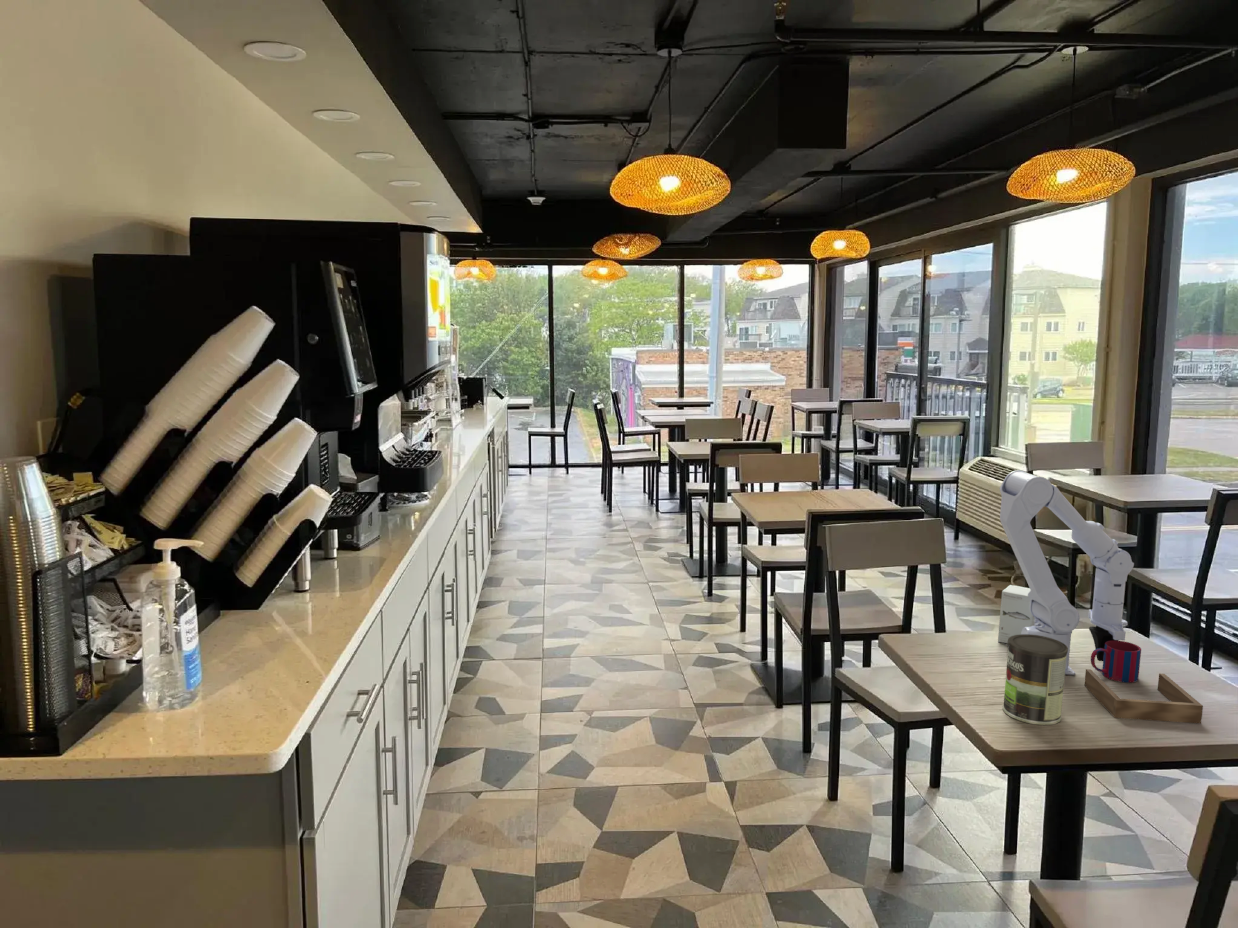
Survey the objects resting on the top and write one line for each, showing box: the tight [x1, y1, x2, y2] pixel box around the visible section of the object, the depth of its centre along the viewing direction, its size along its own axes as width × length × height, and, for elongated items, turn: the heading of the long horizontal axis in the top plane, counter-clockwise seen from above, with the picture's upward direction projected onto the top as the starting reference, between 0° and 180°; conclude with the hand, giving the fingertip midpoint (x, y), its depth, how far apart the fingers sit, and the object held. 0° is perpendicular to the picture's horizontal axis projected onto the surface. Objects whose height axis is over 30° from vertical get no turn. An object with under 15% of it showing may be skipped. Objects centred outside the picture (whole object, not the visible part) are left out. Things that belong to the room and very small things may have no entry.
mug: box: [1090, 640, 1142, 684], centre depth 183 cm, size 7×10×7 cm
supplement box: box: [997, 584, 1035, 644], centre depth 203 cm, size 7×7×13 cm
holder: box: [1084, 668, 1204, 724], centre depth 170 cm, size 15×16×4 cm
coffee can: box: [1002, 634, 1068, 726], centre depth 164 cm, size 10×10×14 cm
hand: (1102, 660), depth 188 cm, fingers closed
